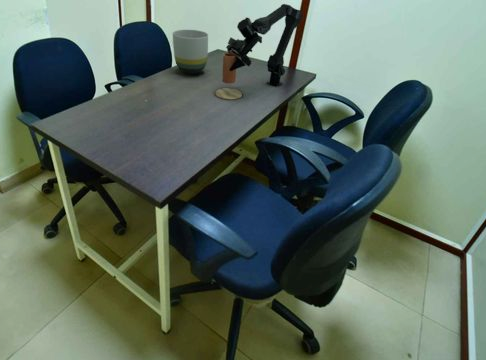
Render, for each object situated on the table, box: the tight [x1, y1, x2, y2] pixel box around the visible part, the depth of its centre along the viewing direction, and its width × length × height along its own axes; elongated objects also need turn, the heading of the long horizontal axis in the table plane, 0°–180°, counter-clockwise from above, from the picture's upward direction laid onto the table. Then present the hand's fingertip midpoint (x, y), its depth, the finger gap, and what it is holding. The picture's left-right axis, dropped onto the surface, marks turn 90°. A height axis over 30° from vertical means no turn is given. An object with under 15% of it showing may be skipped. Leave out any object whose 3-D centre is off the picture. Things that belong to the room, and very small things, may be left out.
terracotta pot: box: [222, 52, 237, 84], centre depth 150 cm, size 7×7×13 cm
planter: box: [172, 29, 209, 75], centre depth 172 cm, size 20×20×21 cm
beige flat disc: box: [215, 87, 243, 101], centre depth 157 cm, size 14×14×1 cm
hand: (226, 68), depth 149 cm, fingers closed on terracotta pot, 7 cm apart
